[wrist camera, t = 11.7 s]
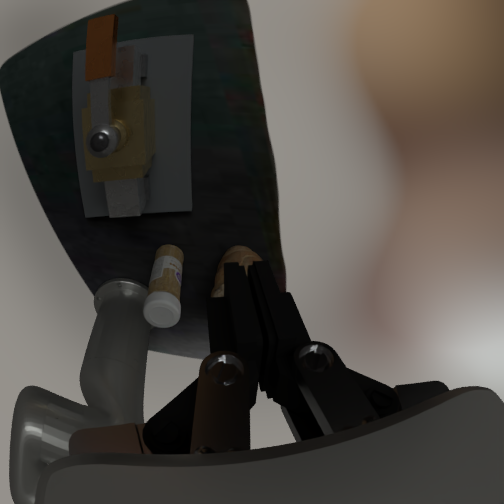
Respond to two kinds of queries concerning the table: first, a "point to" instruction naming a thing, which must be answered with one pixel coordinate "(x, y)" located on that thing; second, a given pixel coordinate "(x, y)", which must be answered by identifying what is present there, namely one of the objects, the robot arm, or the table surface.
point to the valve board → (166, 125)
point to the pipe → (233, 255)
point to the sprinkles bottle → (165, 288)
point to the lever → (101, 84)
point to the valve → (126, 137)
